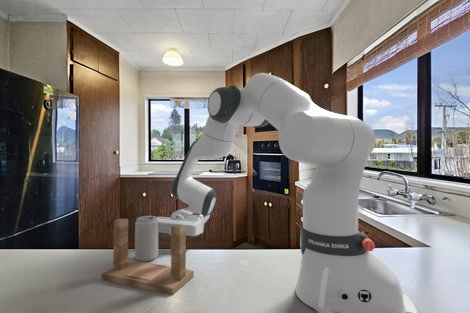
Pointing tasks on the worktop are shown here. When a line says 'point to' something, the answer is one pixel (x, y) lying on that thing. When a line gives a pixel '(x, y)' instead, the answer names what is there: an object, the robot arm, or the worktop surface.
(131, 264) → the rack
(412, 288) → the worktop surface
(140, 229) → the beverage can
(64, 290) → the worktop surface
